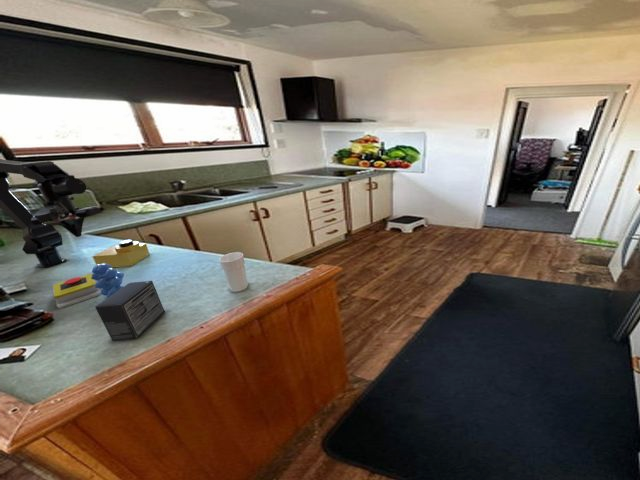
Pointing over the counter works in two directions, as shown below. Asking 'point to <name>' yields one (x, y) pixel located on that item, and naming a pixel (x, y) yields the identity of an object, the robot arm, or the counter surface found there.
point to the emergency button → (75, 290)
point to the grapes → (107, 279)
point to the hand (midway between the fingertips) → (78, 236)
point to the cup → (234, 271)
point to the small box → (130, 310)
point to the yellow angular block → (122, 255)
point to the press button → (126, 243)
